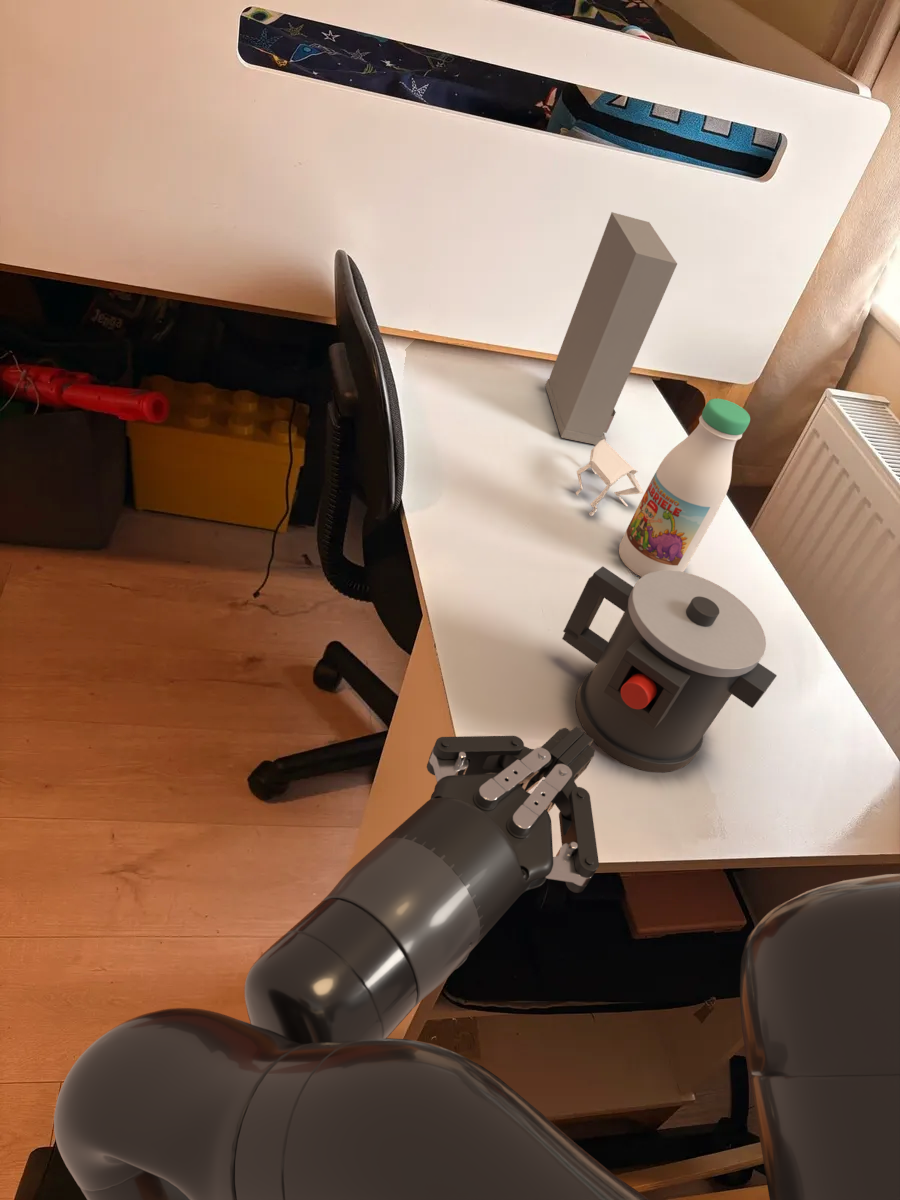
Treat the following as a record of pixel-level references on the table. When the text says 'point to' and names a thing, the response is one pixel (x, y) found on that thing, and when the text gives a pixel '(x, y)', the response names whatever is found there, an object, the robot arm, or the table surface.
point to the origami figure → (609, 471)
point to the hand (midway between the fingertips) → (580, 740)
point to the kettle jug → (664, 664)
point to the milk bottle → (685, 493)
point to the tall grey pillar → (608, 327)
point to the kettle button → (638, 691)
